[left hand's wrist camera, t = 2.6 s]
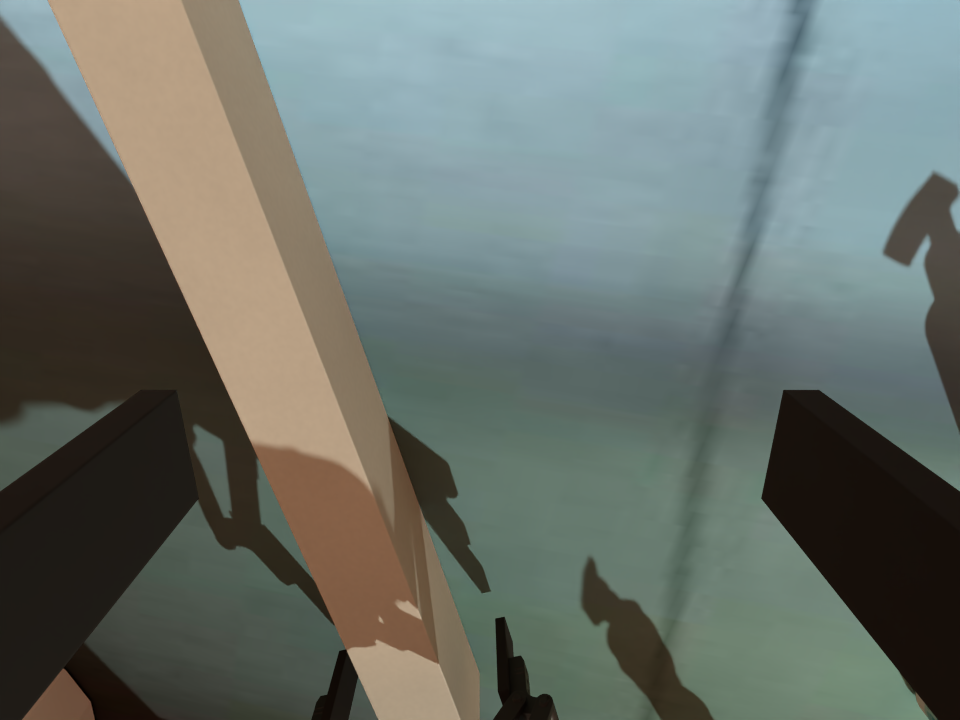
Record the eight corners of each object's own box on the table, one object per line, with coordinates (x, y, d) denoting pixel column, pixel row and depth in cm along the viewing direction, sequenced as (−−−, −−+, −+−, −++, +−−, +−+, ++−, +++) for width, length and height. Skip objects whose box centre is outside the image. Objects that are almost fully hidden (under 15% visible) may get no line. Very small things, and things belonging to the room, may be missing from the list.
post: (-86, -530, 25) (-336, -832, 18) (31, -580, 25) (-175, -914, 17) (417, 685, 51) (406, 782, 44) (479, 672, 51) (480, 768, 43)
